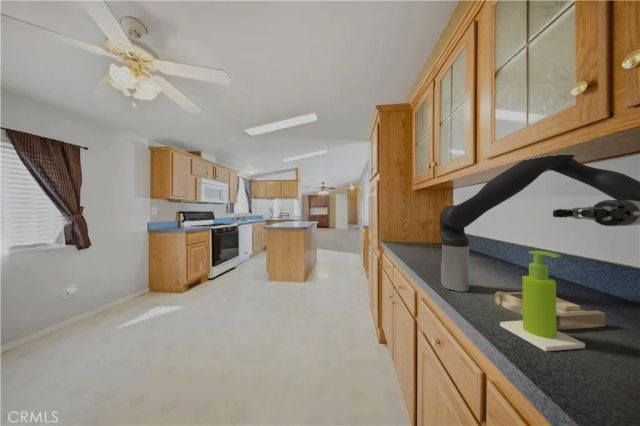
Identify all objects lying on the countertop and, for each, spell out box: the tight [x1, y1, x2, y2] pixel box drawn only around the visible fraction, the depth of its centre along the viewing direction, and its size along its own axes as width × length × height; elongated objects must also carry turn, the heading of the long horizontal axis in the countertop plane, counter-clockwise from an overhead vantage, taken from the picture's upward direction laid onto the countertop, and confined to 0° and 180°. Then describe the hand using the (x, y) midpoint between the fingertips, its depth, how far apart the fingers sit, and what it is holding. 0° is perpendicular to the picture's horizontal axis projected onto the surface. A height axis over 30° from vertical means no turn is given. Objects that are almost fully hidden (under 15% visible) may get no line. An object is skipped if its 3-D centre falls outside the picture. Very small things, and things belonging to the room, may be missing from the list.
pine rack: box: [494, 290, 606, 331], centre depth 66 cm, size 17×16×4 cm
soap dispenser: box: [521, 250, 562, 338], centre depth 54 cm, size 6×7×20 cm
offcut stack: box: [556, 296, 585, 313], centre depth 67 cm, size 11×5×4 cm, turn 6°
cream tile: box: [499, 319, 586, 352], centre depth 55 cm, size 11×10×1 cm
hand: (572, 213), depth 62 cm, fingers open, 8 cm apart
